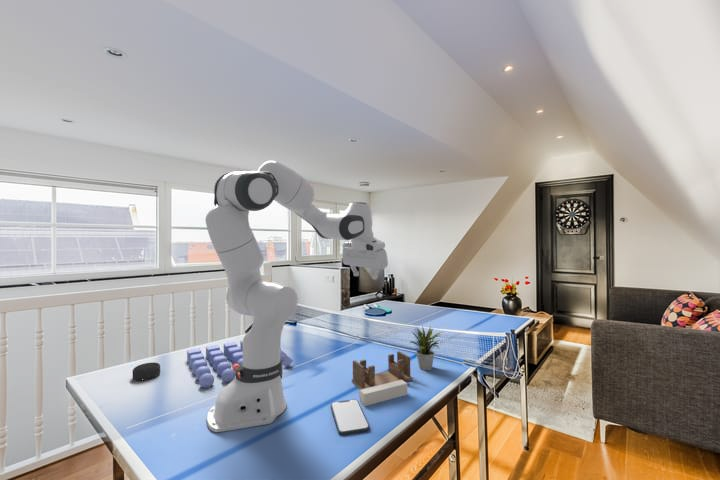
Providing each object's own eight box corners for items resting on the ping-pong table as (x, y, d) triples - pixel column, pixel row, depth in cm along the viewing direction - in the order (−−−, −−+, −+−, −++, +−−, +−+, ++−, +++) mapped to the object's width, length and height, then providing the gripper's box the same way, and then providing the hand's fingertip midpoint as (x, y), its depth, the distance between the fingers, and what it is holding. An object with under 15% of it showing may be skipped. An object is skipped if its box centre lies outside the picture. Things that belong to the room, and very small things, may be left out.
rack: (363, 392, 110) (363, 368, 110) (351, 382, 118) (351, 359, 118) (412, 379, 120) (411, 358, 120) (398, 371, 128) (397, 350, 128)
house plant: (442, 378, 121) (442, 334, 120) (405, 373, 125) (405, 330, 125) (445, 364, 134) (445, 324, 134) (411, 360, 139) (411, 321, 138)
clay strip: (364, 407, 101) (364, 394, 101) (359, 402, 104) (359, 389, 104) (407, 395, 109) (407, 383, 109) (401, 391, 111) (401, 379, 111)
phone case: (371, 433, 88) (357, 403, 104) (371, 427, 88) (357, 398, 104) (338, 439, 86) (329, 407, 102) (338, 433, 86) (329, 402, 102)
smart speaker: (146, 382, 120) (146, 371, 120) (126, 380, 122) (126, 369, 122) (165, 372, 129) (165, 362, 129) (146, 371, 131) (146, 361, 131)
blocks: (267, 345, 161) (267, 335, 161) (295, 368, 133) (295, 356, 133) (187, 361, 142) (187, 350, 141) (200, 392, 113) (200, 377, 113)
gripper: (337, 243, 132) (340, 276, 135) (378, 247, 119) (381, 283, 122) (347, 240, 137) (350, 272, 139) (388, 243, 124) (391, 278, 127)
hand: (365, 277), depth 130 cm, fingers open, 8 cm apart
